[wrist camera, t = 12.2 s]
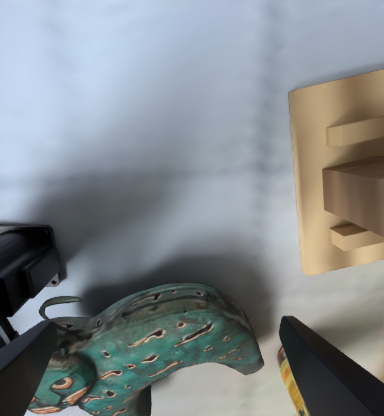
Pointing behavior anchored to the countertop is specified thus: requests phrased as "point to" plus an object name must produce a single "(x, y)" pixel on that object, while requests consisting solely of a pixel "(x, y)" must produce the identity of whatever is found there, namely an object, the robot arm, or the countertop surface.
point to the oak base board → (332, 156)
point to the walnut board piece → (356, 192)
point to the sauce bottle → (291, 384)
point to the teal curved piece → (141, 348)
